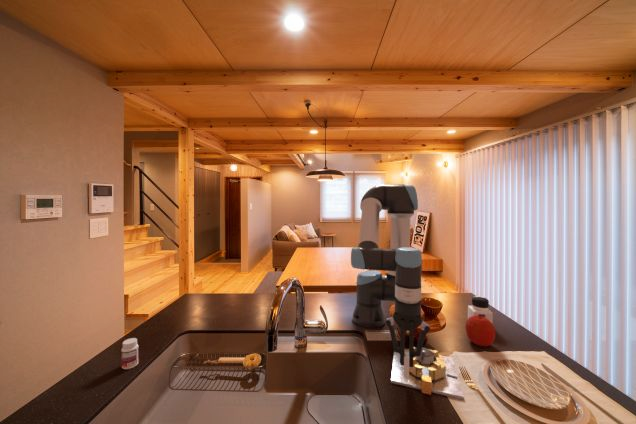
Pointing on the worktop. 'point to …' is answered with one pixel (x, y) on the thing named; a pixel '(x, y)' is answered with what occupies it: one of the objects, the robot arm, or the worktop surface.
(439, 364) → the yellow piece
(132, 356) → the pill bottle
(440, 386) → the flange plate
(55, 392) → the worktop surface
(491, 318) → the container
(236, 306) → the worktop surface
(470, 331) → the apple
